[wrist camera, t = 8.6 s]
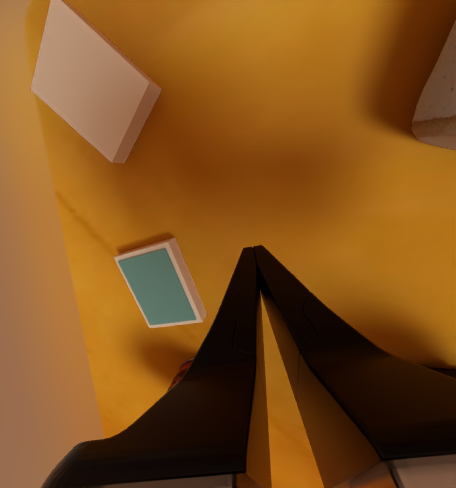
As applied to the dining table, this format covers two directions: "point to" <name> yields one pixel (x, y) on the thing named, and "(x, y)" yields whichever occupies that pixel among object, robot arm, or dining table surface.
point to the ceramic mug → (439, 101)
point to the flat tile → (162, 284)
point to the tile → (92, 83)
